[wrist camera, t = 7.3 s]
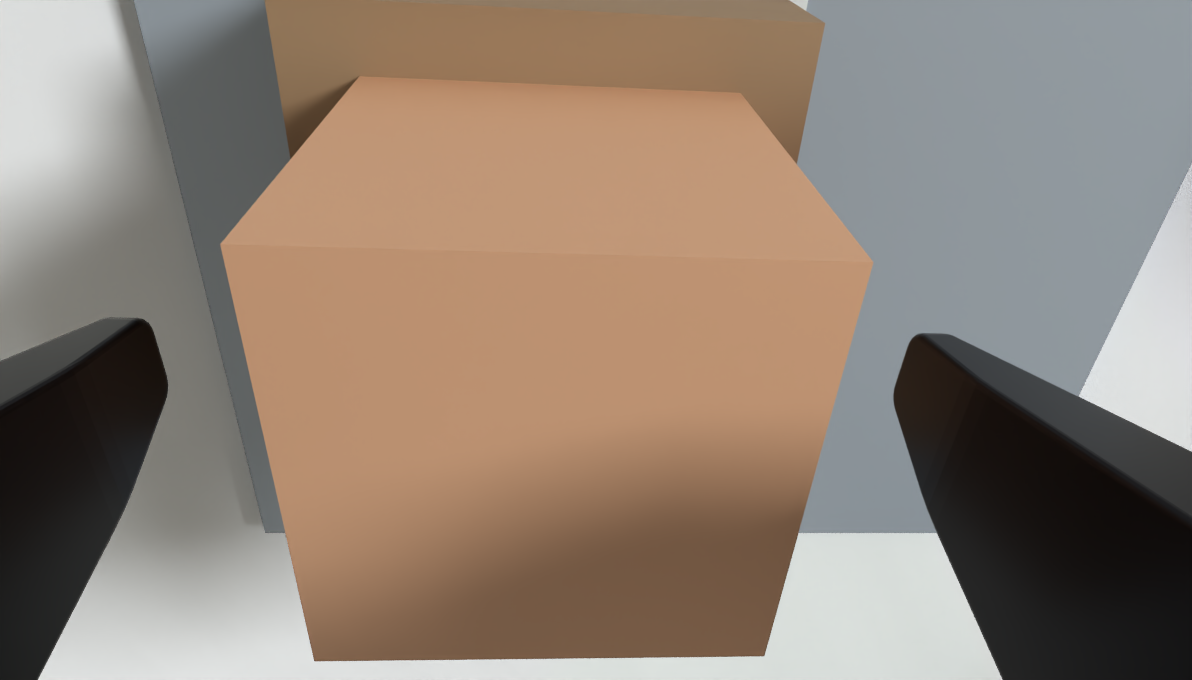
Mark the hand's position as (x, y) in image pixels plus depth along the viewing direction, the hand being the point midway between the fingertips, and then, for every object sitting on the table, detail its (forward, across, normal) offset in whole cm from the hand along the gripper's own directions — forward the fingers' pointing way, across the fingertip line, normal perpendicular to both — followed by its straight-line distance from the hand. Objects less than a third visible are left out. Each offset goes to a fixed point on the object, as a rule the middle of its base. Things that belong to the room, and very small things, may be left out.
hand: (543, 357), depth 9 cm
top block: (+3, 0, 0) cm, 3 cm away
